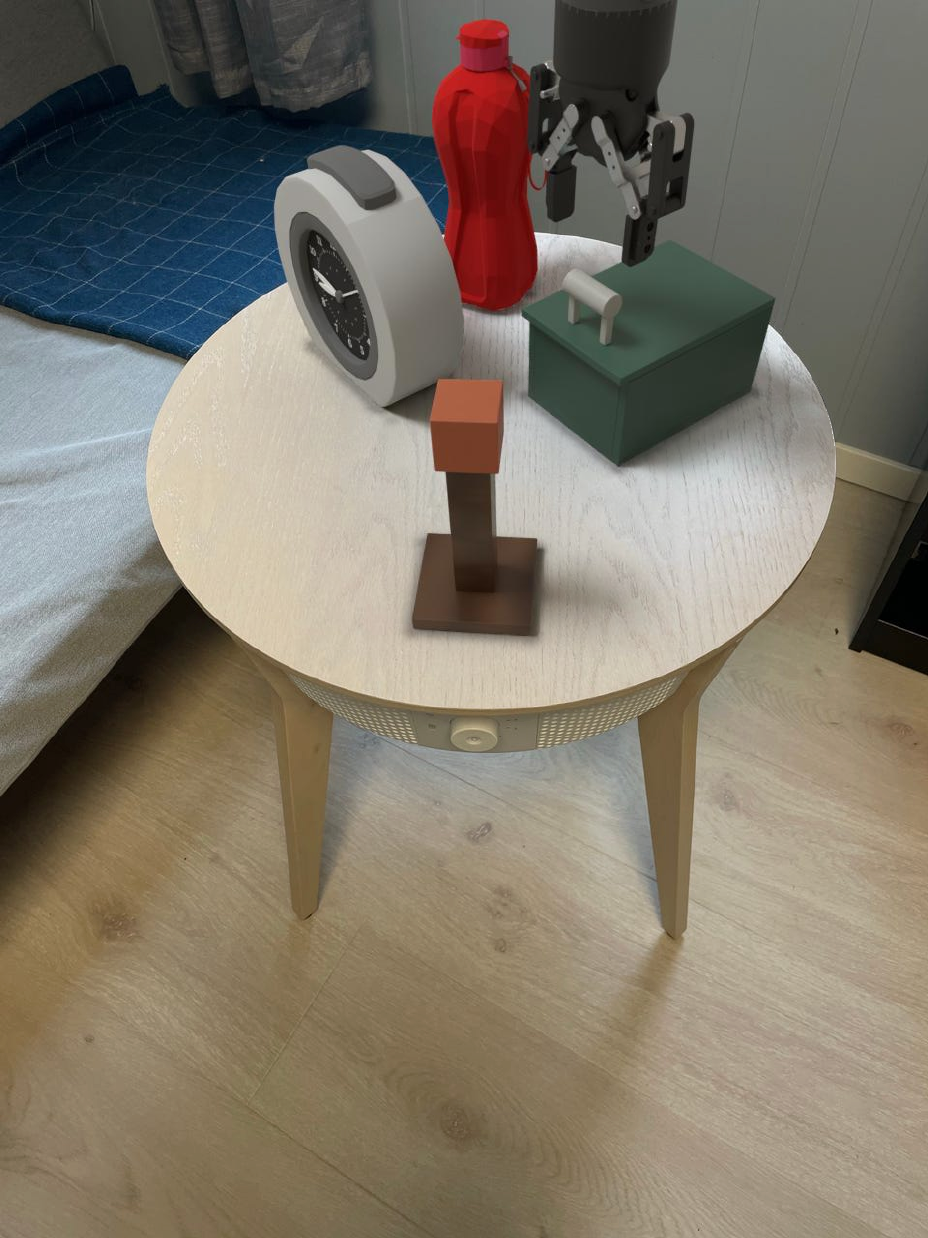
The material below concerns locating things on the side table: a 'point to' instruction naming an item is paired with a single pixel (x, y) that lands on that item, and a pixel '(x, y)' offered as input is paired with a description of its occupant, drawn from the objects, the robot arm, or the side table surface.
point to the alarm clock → (370, 272)
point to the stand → (475, 567)
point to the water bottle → (487, 169)
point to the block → (467, 426)
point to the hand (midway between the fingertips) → (596, 238)
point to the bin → (644, 389)
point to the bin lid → (645, 311)
